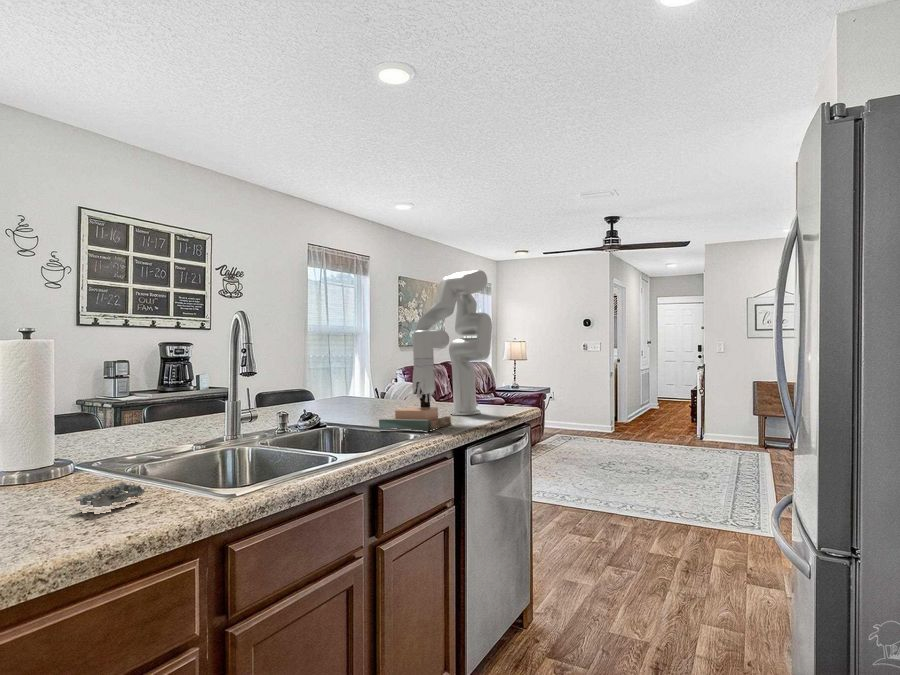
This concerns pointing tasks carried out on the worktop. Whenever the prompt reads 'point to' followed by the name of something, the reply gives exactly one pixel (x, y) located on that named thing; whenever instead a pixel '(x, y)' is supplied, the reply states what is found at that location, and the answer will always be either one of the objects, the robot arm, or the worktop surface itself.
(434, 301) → the robot arm
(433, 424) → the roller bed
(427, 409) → the clay slab
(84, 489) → the worktop surface
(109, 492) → the grey rough flat piece
